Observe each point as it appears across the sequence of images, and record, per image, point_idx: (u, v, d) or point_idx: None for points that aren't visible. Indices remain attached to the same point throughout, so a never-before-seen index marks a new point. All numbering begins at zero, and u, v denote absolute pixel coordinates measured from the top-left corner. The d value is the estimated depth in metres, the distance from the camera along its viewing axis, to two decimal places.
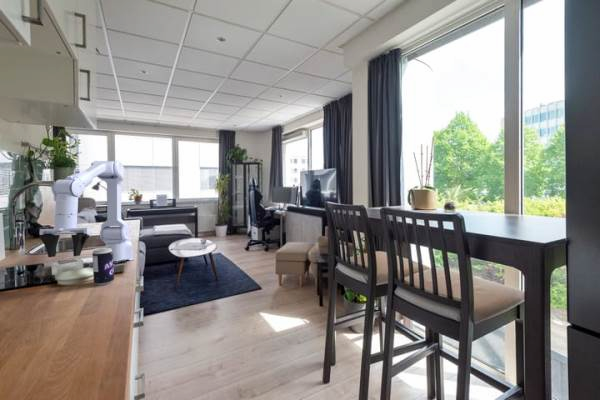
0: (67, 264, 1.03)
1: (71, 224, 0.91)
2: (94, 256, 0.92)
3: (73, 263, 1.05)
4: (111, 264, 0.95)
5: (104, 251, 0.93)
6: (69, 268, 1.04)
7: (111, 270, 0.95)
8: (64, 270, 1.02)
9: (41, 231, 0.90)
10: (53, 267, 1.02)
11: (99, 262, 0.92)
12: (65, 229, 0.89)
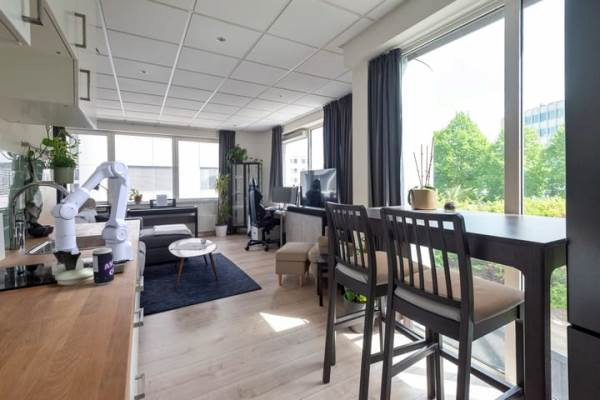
0: None
1: (65, 244, 1.02)
2: (94, 256, 0.92)
3: None
4: (111, 264, 0.95)
5: (104, 251, 0.93)
6: None
7: (111, 270, 0.95)
8: (64, 270, 1.02)
9: None
10: (53, 267, 1.02)
11: (99, 262, 0.92)
12: (59, 249, 1.02)
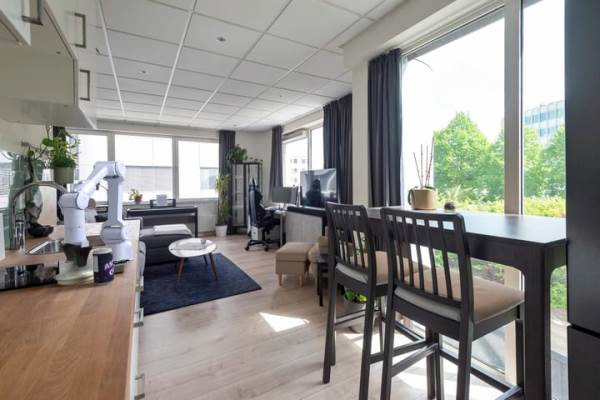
0: (76, 262, 0.96)
1: (74, 236, 0.96)
2: (94, 256, 0.92)
3: None
4: (111, 264, 0.95)
5: (104, 251, 0.93)
6: None
7: (111, 270, 0.95)
8: (73, 268, 0.95)
9: (64, 240, 1.01)
10: (61, 265, 0.95)
11: (99, 262, 0.92)
12: (68, 242, 0.95)
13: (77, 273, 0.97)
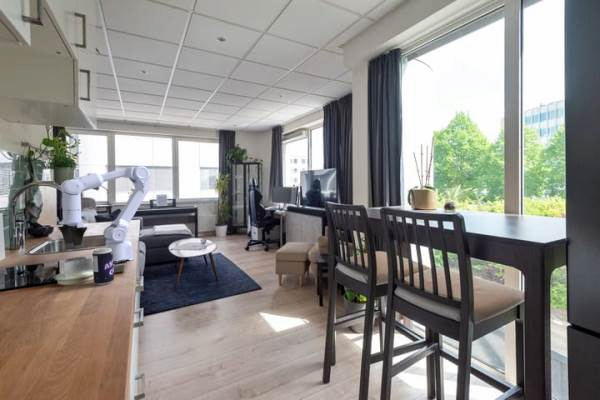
0: (75, 262, 0.96)
1: (71, 218, 1.07)
2: (94, 256, 0.92)
3: (81, 261, 0.98)
4: (111, 264, 0.95)
5: (104, 251, 0.93)
6: (77, 266, 0.97)
7: (111, 270, 0.95)
8: (72, 268, 0.95)
9: None
10: (61, 265, 0.95)
11: (99, 262, 0.92)
12: (66, 223, 1.06)
13: (76, 273, 0.97)
